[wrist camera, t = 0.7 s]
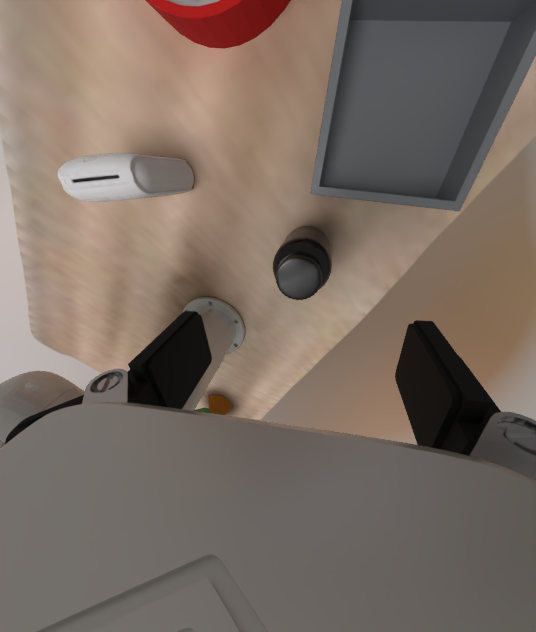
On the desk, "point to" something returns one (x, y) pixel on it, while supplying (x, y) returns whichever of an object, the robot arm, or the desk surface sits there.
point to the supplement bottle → (303, 263)
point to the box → (419, 97)
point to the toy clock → (220, 19)
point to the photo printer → (124, 177)
